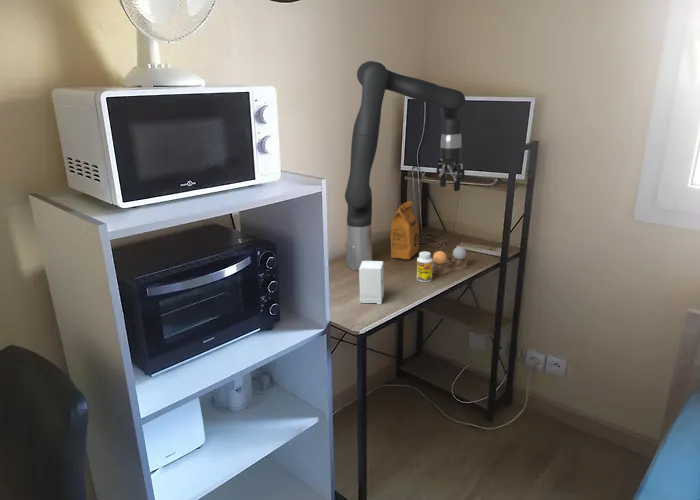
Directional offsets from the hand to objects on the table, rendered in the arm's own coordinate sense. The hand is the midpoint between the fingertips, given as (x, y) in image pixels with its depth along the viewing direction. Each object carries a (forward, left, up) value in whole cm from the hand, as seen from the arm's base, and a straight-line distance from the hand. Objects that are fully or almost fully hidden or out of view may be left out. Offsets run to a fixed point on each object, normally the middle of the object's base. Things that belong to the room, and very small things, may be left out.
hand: (449, 188), depth 207 cm
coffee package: (-13, +11, -28) cm, 33 cm away
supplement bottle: (-21, -14, -28) cm, 38 cm away
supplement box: (-45, -19, -28) cm, 57 cm away
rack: (-7, -10, -28) cm, 31 cm away
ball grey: (-3, -10, -22) cm, 25 cm away
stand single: (-5, -2, -28) cm, 29 cm away
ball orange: (-12, -10, -22) cm, 27 cm away
